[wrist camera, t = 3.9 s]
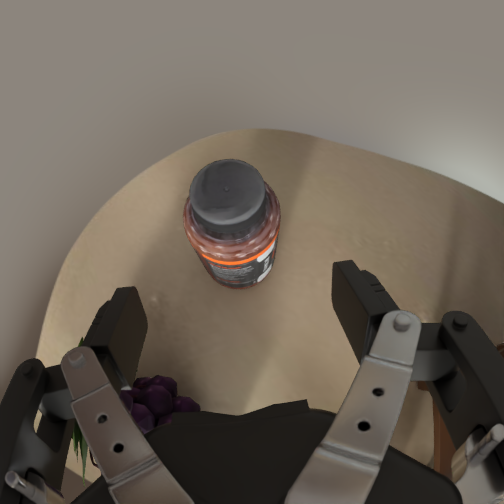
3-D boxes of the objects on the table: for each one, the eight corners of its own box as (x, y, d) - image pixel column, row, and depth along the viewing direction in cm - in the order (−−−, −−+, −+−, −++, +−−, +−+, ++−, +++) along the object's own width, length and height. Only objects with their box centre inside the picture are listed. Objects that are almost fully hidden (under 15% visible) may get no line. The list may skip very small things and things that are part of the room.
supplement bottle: (285, 275, 26) (305, 219, 15) (218, 301, 25) (189, 263, 14) (258, 214, 28) (259, 131, 17) (195, 237, 27) (159, 166, 16)
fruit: (214, 462, 23) (59, 421, 21) (239, 361, 25) (70, 316, 22) (229, 534, 13) (13, 474, 11) (269, 408, 15) (8, 334, 12)
